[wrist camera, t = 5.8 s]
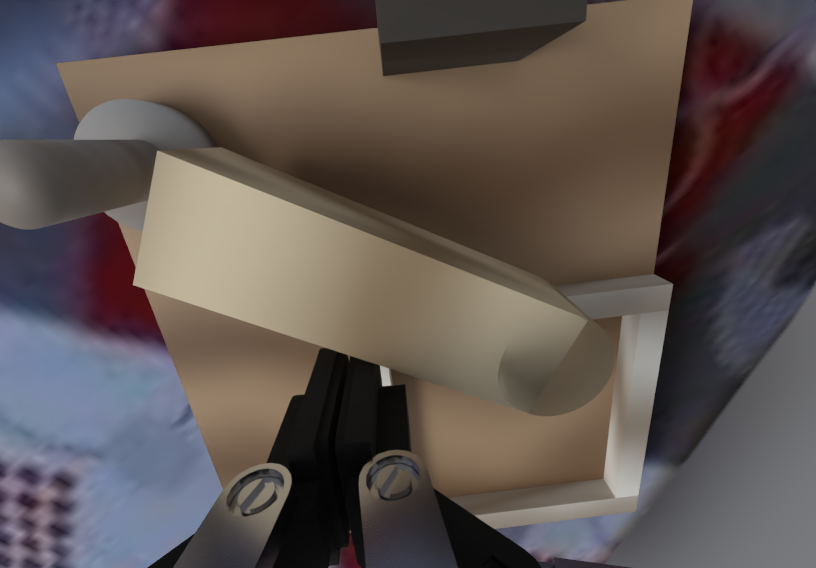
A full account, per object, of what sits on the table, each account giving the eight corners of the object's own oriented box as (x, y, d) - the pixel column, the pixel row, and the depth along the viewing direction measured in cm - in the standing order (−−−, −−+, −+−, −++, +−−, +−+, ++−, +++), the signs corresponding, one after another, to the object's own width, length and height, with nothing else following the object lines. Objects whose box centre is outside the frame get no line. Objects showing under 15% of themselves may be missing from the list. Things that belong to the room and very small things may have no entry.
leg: (197, 247, 11) (132, 284, 8) (221, 147, 10) (156, 150, 7) (534, 367, 13) (574, 428, 10) (580, 293, 12) (638, 339, 9)
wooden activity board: (95, 72, 12) (-213, 2, 6) (658, 9, 12) (935, -123, 6) (255, 516, 19) (194, 691, 13) (604, 473, 19) (703, 626, 13)
